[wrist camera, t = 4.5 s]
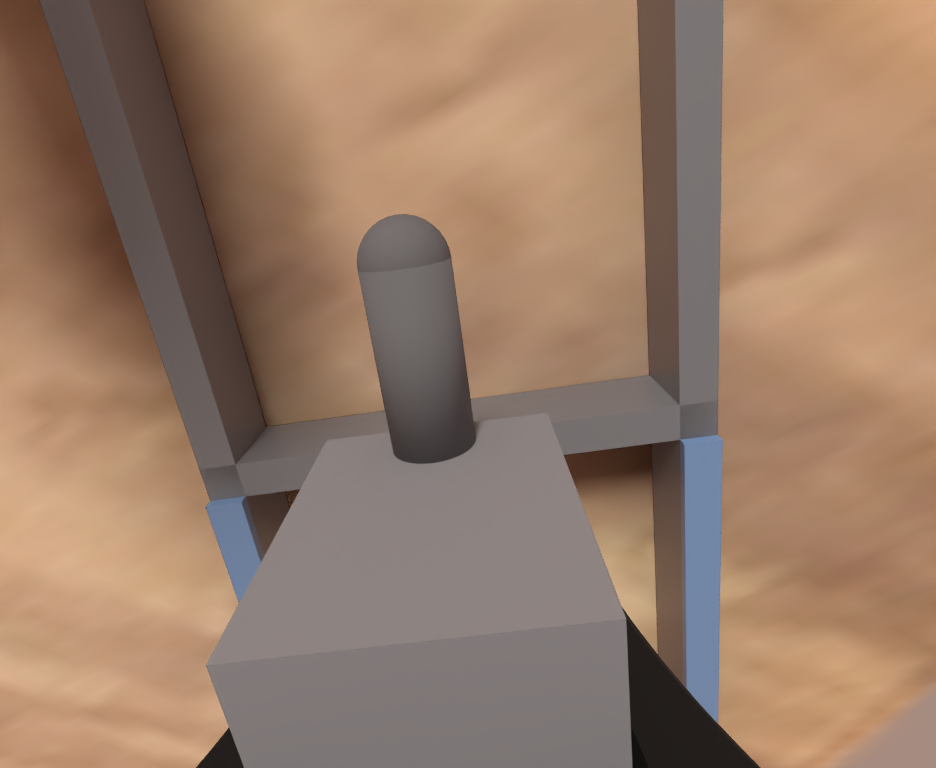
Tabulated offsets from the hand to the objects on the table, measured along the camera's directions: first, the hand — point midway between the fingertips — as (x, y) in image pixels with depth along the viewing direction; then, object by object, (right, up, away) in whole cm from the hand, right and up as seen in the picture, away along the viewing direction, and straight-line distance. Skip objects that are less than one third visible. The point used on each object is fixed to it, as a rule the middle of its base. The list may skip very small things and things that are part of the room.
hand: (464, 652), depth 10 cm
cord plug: (0, +2, +1) cm, 3 cm away
